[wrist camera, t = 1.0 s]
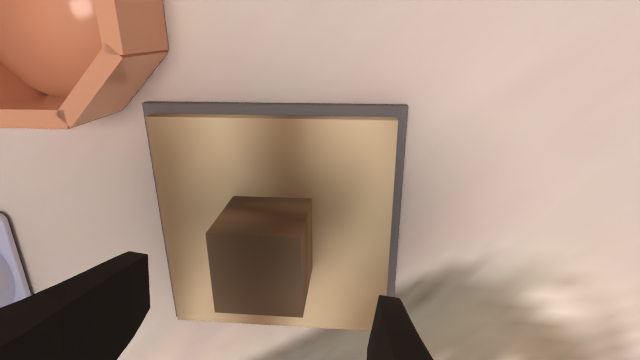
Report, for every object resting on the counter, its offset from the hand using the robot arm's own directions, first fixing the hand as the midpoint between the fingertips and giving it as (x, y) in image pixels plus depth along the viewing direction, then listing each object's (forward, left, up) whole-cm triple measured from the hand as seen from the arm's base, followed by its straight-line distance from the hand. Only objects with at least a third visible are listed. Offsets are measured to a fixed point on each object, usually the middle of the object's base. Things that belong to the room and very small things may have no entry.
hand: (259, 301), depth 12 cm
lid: (-1, -2, -9) cm, 9 cm away
